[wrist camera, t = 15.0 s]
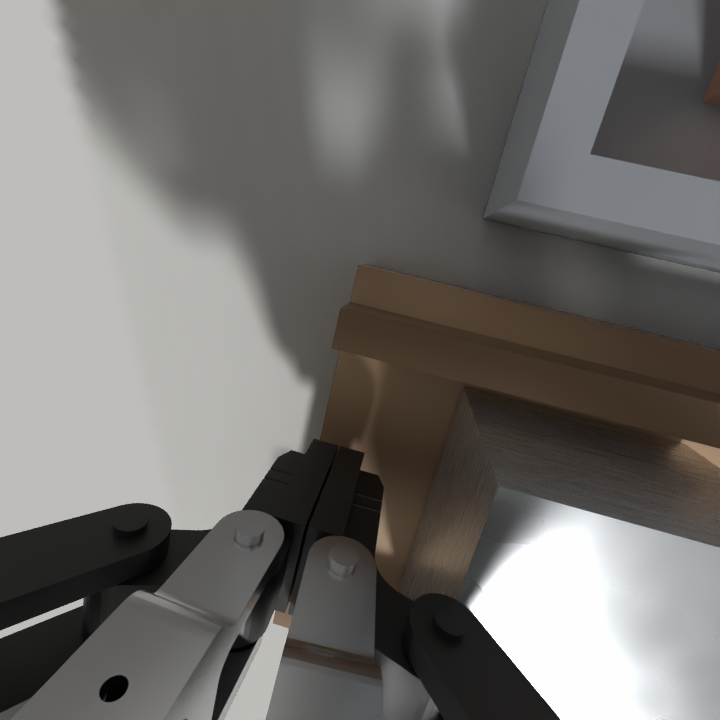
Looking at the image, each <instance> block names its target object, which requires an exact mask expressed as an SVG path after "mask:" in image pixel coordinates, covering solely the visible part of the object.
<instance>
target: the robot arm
mask: <svg viewBox="0 0 720 720" xmlns="http://www.w3.org/2000/svg"><path fill="white" fill-rule="evenodd" d="M338 447H339V445H335V444H332V443H328V442H325V441H321V440H317V439H314V440H313V441H312V443H311V445H310V447H309V449H308V450H307V452H306V454H303V453H299V452H296V451H292V450H291V451H289V452H287V453H285V454H283V455H282V456H280V457H278V458H277V460H276V461H275V463H274V464H273V466H272V467H271V469H270V470H269V471H268V473H267V474H266V476H265V478H264V479H263V480H262V482H261V483H260V485H259V486H258V488H257V489H256V490H255V492H254V493H253V495H252V496H251V498H250V499H249V501H248V502H247V504H246V505H245V507H244V508H243V510H241V511H236V512H233V513H230V514H228V515H226V516H225V517H223V518H222V519H221V520H220V521H219V522H218V523H217V524H216V525H215V526H214V527H213V529H210V530H171V525H172V523H171V518H170V516H169V515H168V513H167V512H166V511H164V510H163V509H161V508H159V507H157V506H154V505H150V504H144V503H133V504H126V505H121V506H117V507H114V508H110V509H106V510H102V511H98V512H95V513H91V514H87V515H83V516H80V517H76V518H72V519H68V520H64V521H61V522H57V523H53V524H49V525H46V526H42V527H38V528H34V529H31V530H27V531H23V532H20V533H16V534H12V535H8V536H5V537H1V538H0V630H3V629H5V628H8V627H10V626H13V625H15V624H18V623H20V622H23V621H25V620H28V619H30V618H33V617H36V616H38V615H41V614H43V613H46V612H49V611H51V610H54V609H56V608H59V607H61V606H64V605H66V604H69V603H72V602H74V601H77V600H79V599H82V598H84V602H83V606H81V607H78V608H76V609H73V610H71V611H68V612H66V613H63V614H61V615H58V616H56V617H53V618H51V619H48V620H46V621H43V622H41V623H38V624H36V625H34V626H31V627H28V628H26V629H23V630H21V631H18V632H16V633H13V634H11V635H8V636H6V637H3V638H1V639H0V720H224V719H225V717H226V715H227V713H228V711H229V708H230V706H231V704H232V702H233V700H234V698H235V696H236V694H237V692H238V690H239V688H240V686H241V684H242V682H243V680H244V678H245V676H246V674H247V672H248V669H249V667H250V665H251V663H252V661H253V659H254V657H255V655H256V653H257V651H258V649H259V647H260V644H261V641H262V637H263V634H264V632H265V631H266V629H267V627H268V624H269V622H270V619H271V617H272V614H273V612H274V610H276V611H279V612H282V613H285V612H286V609H287V606H288V603H289V601H290V598H291V595H292V598H291V602H290V607H289V611H288V614H289V615H293V616H292V620H291V624H290V628H289V632H288V636H287V639H286V643H285V646H284V650H283V654H282V658H281V661H280V665H279V669H278V673H277V677H276V681H275V685H274V689H273V693H272V697H271V701H270V705H269V709H268V713H267V716H266V720H561V719H560V717H559V716H558V715H557V714H556V713H555V711H554V710H553V709H552V708H551V707H550V705H549V704H548V703H547V702H546V701H545V699H544V698H543V697H542V696H541V695H540V693H539V692H538V691H537V690H536V688H535V687H534V686H533V685H532V684H531V682H530V681H529V680H528V679H527V678H526V676H525V675H524V674H523V673H522V672H521V670H520V669H519V668H518V667H517V665H516V664H515V663H514V662H513V661H512V659H511V658H510V657H509V656H508V655H507V653H506V652H505V651H504V650H503V649H502V647H501V646H500V645H499V644H498V643H497V641H496V640H495V639H494V638H493V636H492V635H491V634H490V633H489V632H488V630H487V629H486V628H485V627H484V626H483V624H482V623H481V622H480V621H479V620H478V618H477V617H476V616H475V615H474V614H473V613H472V612H471V610H469V609H468V608H467V607H466V606H465V605H464V604H462V603H461V602H459V601H458V600H456V599H454V598H452V597H449V596H447V595H443V594H438V593H428V594H424V595H422V596H420V597H418V598H417V599H416V600H415V601H412V600H411V599H409V598H407V597H406V596H404V595H403V594H401V593H399V592H398V591H397V590H395V589H394V588H393V587H391V586H390V585H389V584H388V583H387V582H386V581H385V580H384V578H383V577H382V576H381V574H380V572H379V570H378V568H377V565H376V562H375V551H376V544H377V536H378V529H379V522H380V515H381V507H382V500H383V493H384V486H383V484H382V482H381V480H380V478H379V475H376V474H373V473H369V472H366V471H362V470H360V469H361V465H362V461H363V457H364V454H365V453H364V452H360V451H357V450H353V449H350V448H346V447H343V446H340V448H339V451H338ZM337 452H338V453H337ZM292 592H293V594H292Z"/></svg>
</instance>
